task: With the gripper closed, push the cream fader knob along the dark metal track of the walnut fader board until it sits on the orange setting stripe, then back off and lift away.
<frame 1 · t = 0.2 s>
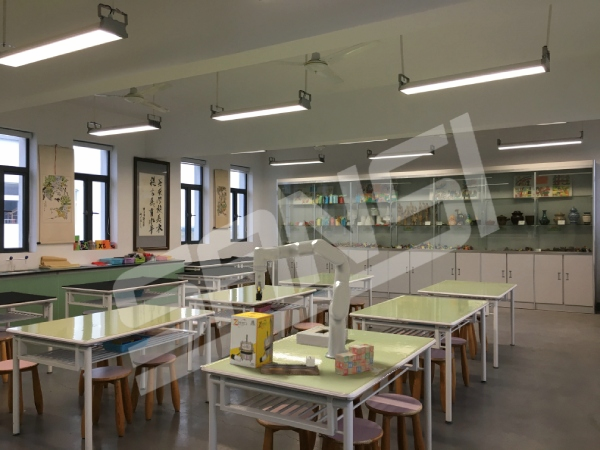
hand: (259, 299, 271), 31 cm above the table, tool pointing down, fingers open, 9 cm apart
fader console: (289, 371, 238), on the table
fader knob: (310, 362, 239), point 5 cm above the table, slide at 0.0 cm
packaging box: (251, 363, 254), on the table
stack of blocks: (354, 371, 243), on the table
box: (322, 342, 313), on the table
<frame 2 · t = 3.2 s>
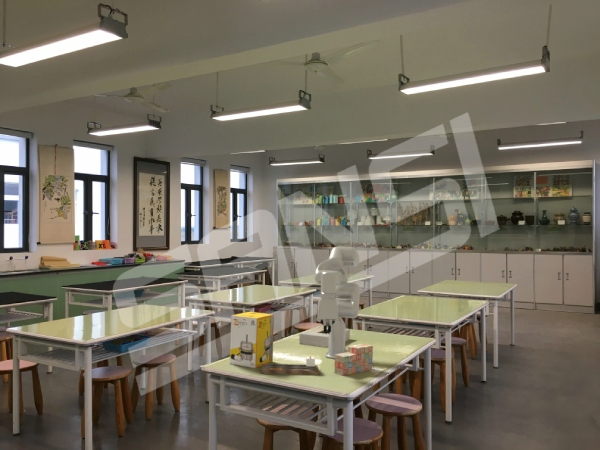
hand: (327, 333, 240), 19 cm above the table, tool pointing down, fingers closed
box: (325, 342, 312), on the table
everything else where it was.
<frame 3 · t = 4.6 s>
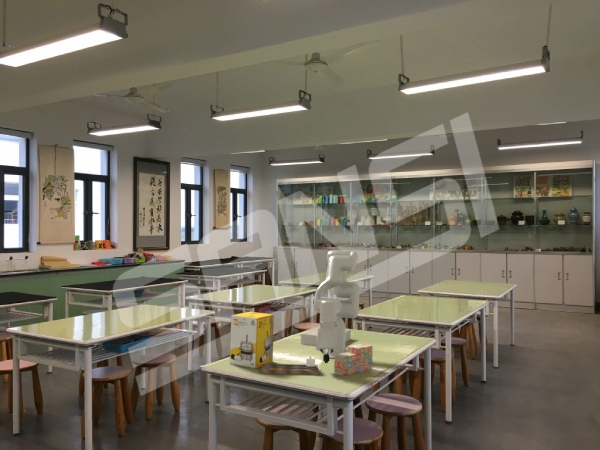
hand: (326, 362, 239), 5 cm above the table, tool pointing down, fingers closed
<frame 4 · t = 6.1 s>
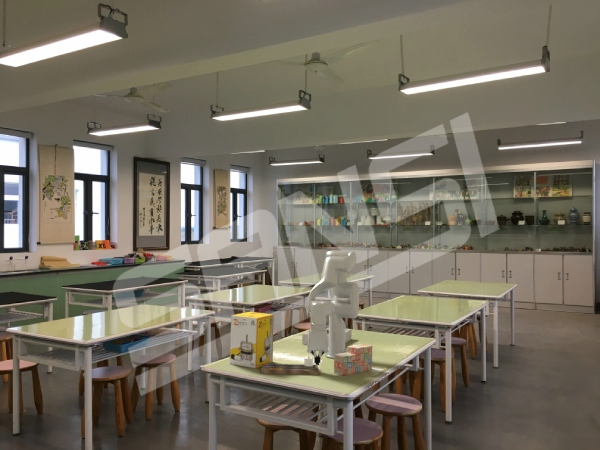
hand: (317, 364, 239), 4 cm above the table, tool pointing down, fingers closed
fader knob: (308, 362, 239), point 5 cm above the table, slide at 0.9 cm, touching gripper
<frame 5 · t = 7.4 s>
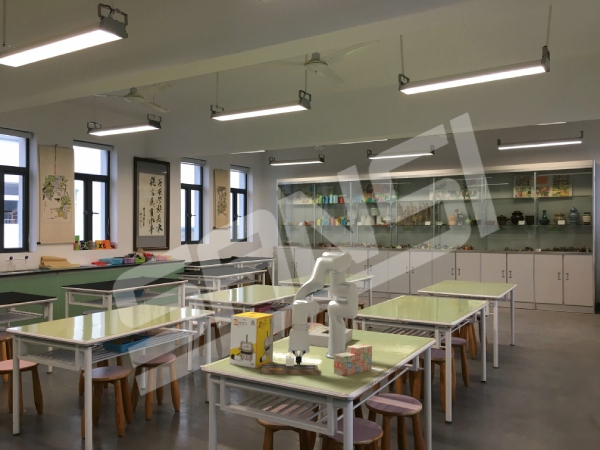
hand: (298, 364, 239), 4 cm above the table, tool pointing down, fingers closed
fader knob: (289, 361, 239), point 5 cm above the table, slide at 10.2 cm, touching gripper
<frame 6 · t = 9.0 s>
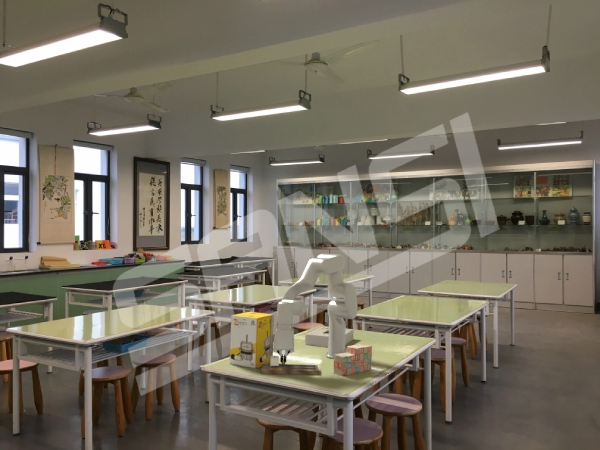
hand: (283, 363, 238), 4 cm above the table, tool pointing down, fingers closed
fader knob: (274, 361, 238), point 5 cm above the table, slide at 17.8 cm, touching gripper
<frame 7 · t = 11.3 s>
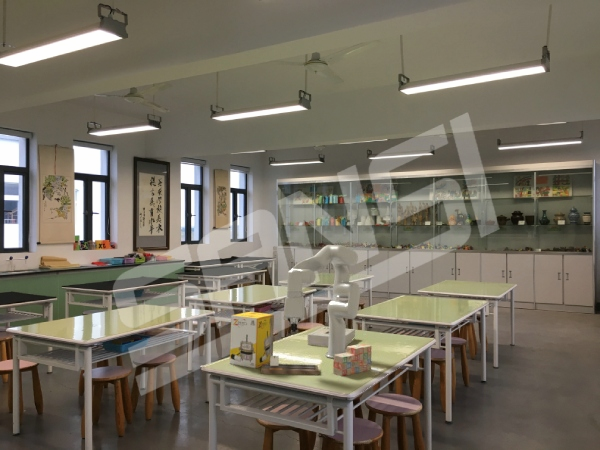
hand: (293, 331, 241), 19 cm above the table, tool pointing down, fingers closed
fader knob: (274, 361, 238), point 5 cm above the table, slide at 17.8 cm
box: (332, 343, 311), on the table
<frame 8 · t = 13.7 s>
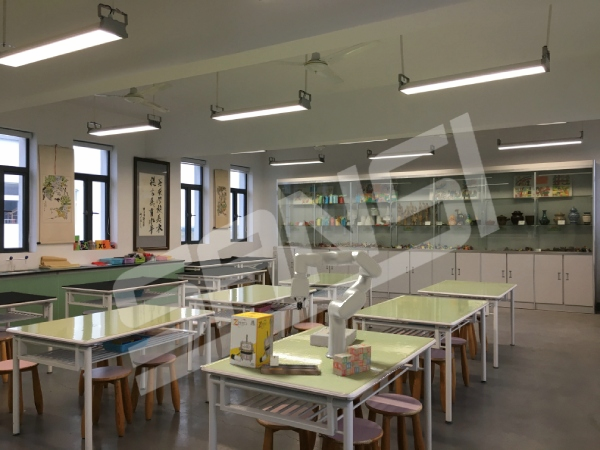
hand: (299, 309, 264), 27 cm above the table, tool pointing down, fingers closed
box: (334, 343, 311), on the table
at the end: fader knob slide at 17.8 cm; packaging box moved 0.3 cm from its start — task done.
